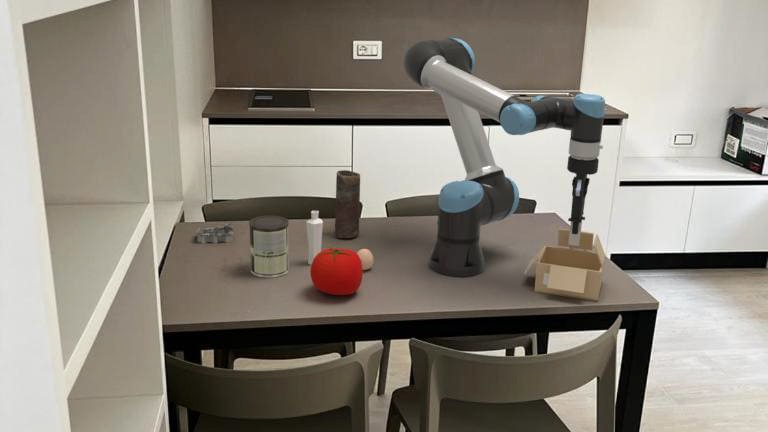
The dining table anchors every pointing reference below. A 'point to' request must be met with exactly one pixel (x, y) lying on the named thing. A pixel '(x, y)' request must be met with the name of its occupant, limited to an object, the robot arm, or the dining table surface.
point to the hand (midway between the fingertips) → (573, 244)
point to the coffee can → (269, 246)
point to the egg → (365, 258)
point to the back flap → (585, 239)
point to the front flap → (567, 278)
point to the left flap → (533, 261)
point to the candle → (347, 204)
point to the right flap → (599, 249)
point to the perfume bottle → (314, 235)
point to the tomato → (337, 271)
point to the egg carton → (216, 234)
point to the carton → (573, 260)
